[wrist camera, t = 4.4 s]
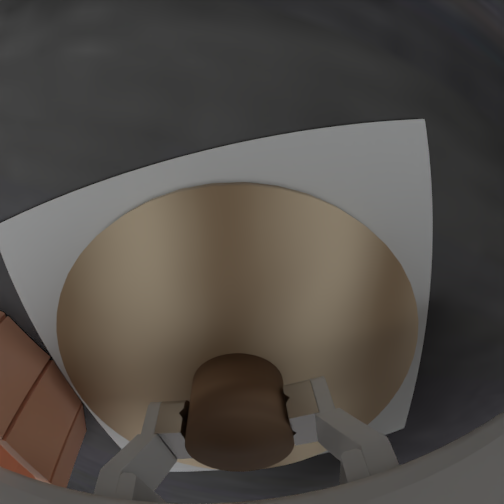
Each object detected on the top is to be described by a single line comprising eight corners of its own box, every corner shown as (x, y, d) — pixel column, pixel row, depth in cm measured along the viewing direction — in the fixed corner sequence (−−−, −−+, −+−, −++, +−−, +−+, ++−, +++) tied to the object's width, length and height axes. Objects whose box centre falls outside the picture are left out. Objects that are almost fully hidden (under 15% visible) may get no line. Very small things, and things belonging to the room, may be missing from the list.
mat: (418, 119, 9) (424, 119, 8) (401, 423, 15) (404, 428, 15) (-3, 224, 9) (-9, 227, 9) (143, 466, 15) (142, 470, 15)
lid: (407, 147, 9) (483, 159, 5) (393, 424, 14) (415, 473, 11) (12, 243, 9) (-48, 285, 6) (150, 464, 15) (142, 513, 11)
